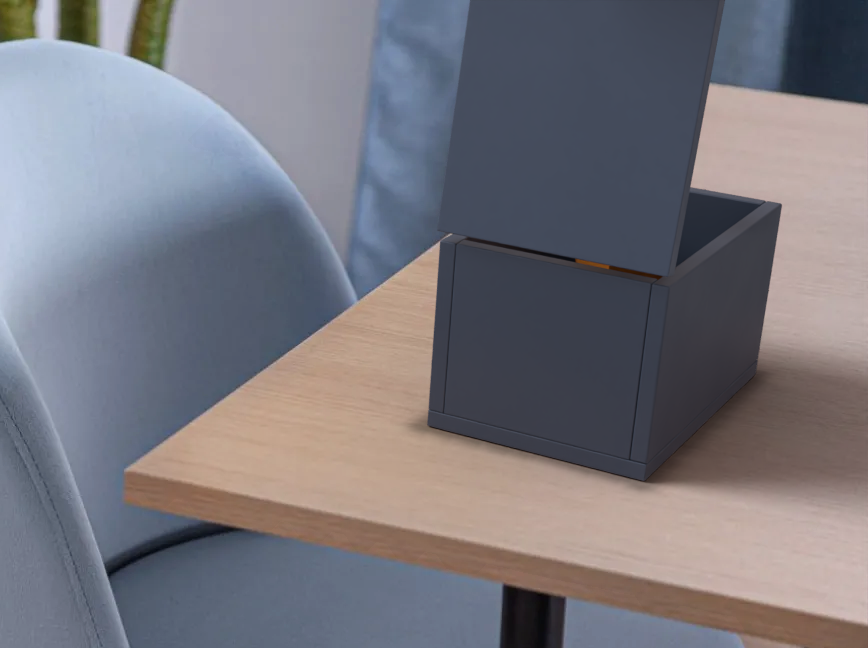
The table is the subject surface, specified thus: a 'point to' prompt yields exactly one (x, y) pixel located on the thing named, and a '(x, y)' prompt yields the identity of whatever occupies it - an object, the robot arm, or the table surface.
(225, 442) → the table surface
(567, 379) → the chest
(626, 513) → the table surface
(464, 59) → the lid
